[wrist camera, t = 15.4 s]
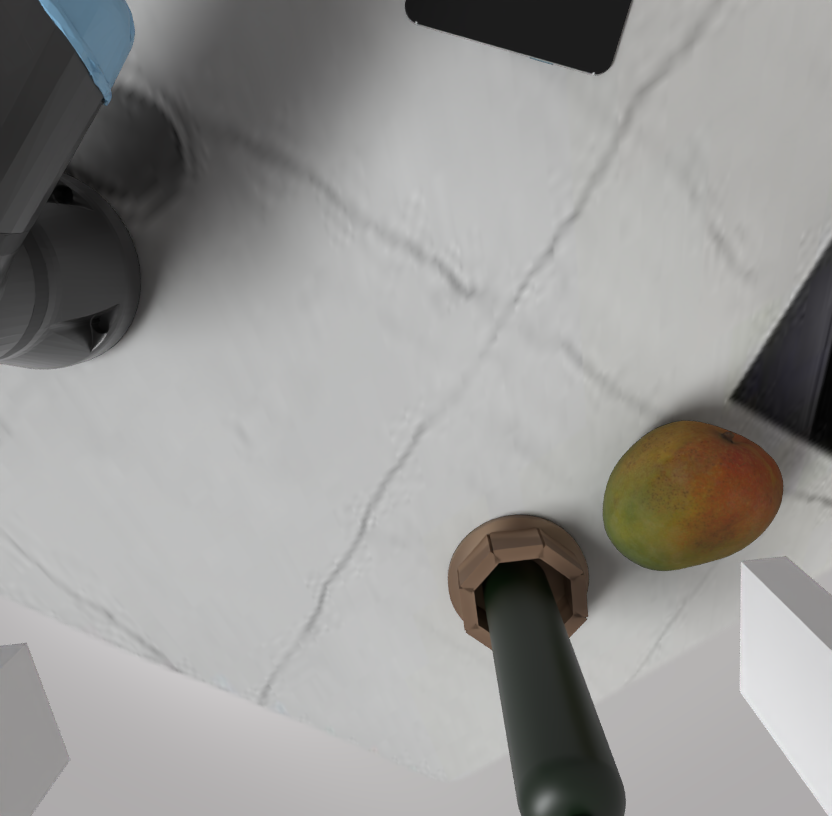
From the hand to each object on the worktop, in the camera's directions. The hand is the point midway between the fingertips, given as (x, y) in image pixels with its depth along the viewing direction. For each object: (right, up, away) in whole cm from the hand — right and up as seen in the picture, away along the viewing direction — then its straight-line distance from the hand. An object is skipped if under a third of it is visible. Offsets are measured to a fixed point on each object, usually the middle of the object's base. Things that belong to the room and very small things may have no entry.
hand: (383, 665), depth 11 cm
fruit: (+21, -1, +38) cm, 44 cm away
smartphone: (+8, +34, +29) cm, 45 cm away
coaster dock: (+10, -10, +41) cm, 43 cm away
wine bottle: (+9, -11, +40) cm, 43 cm away
